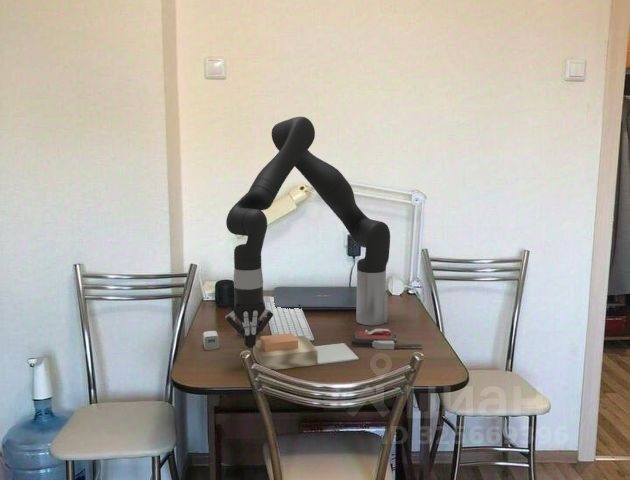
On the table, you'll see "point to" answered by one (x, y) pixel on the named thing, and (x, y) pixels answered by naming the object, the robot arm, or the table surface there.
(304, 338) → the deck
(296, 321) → the keyboard
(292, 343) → the tile
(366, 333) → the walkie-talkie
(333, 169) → the robot arm
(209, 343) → the usb wall charger
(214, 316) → the table surface
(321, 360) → the mat
